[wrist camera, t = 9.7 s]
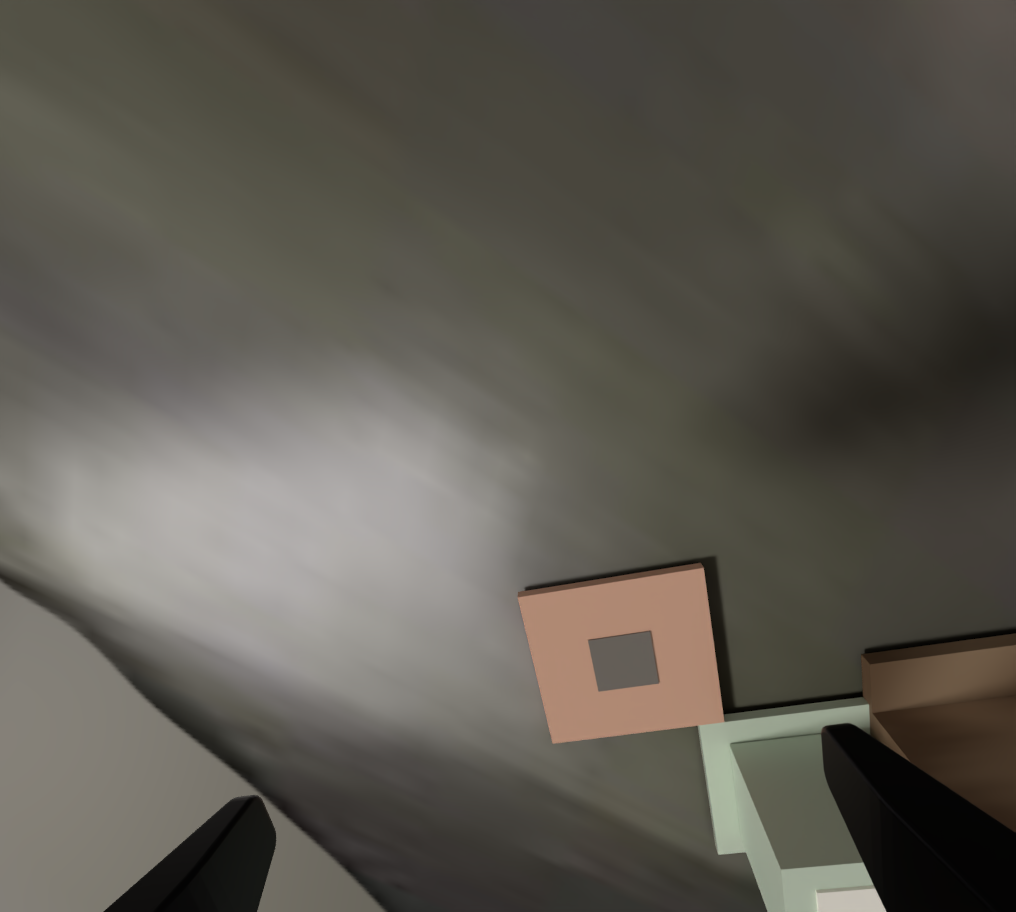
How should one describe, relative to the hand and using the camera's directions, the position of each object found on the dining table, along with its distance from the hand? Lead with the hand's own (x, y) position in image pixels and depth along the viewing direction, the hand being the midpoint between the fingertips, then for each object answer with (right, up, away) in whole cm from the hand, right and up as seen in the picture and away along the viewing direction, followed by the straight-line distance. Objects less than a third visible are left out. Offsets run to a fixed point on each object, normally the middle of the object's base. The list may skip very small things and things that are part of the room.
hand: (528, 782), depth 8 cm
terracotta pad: (+4, -3, +13) cm, 14 cm away
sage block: (+12, -8, +14) cm, 20 cm away
